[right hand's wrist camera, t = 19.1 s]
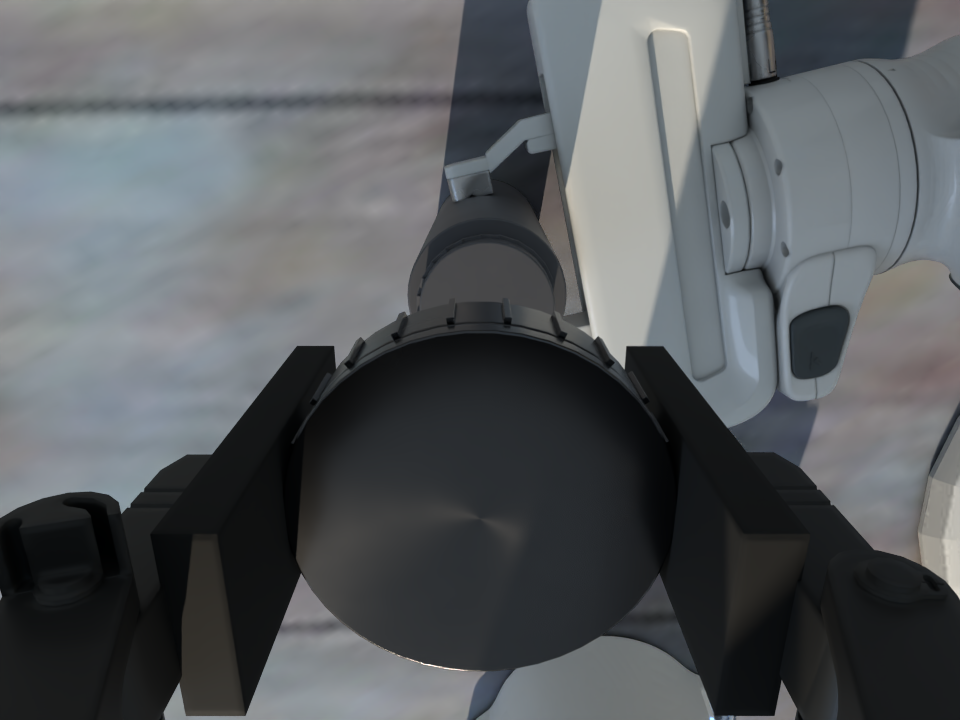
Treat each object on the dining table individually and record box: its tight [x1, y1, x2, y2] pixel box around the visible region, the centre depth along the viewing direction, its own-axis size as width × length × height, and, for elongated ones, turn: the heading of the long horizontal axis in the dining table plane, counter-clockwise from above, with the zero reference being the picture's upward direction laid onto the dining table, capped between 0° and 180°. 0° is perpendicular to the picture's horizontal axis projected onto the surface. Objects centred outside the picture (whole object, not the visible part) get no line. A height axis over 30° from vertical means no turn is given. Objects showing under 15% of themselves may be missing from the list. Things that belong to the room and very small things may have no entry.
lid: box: [283, 298, 677, 671], centre depth 11 cm, size 6×6×2 cm
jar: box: [408, 179, 566, 318], centre depth 29 cm, size 5×5×15 cm
